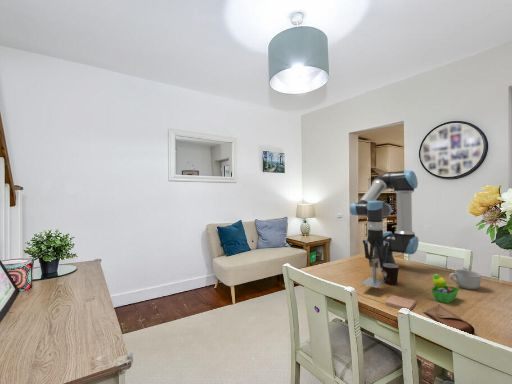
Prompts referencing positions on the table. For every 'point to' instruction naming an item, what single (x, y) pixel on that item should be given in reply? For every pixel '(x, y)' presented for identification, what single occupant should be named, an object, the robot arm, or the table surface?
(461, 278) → the teacup
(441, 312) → the sunglasses case
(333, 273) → the table surface
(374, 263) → the grey post stand
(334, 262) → the table surface
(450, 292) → the fruit basket
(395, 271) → the coffee mug
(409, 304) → the tile
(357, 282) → the table surface
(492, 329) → the table surface
